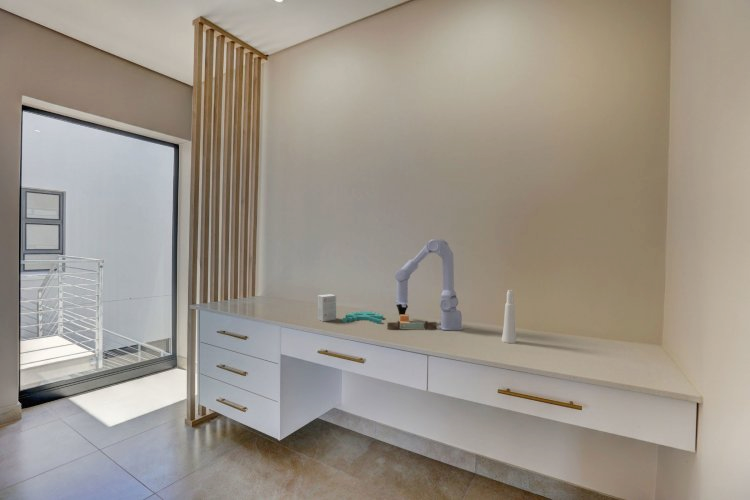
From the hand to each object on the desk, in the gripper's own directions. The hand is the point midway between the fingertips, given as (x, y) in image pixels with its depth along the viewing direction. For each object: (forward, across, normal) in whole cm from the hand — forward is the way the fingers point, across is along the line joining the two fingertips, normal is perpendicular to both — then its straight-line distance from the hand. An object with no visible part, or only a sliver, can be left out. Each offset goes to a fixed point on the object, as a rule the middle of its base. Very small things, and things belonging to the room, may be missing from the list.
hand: (401, 318), depth 185 cm
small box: (+2, -4, -40) cm, 40 cm away
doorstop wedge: (+2, +8, 0) cm, 8 cm away
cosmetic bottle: (+2, +38, +40) cm, 55 cm away
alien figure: (+2, -6, -20) cm, 21 cm away
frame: (+1, +16, +3) cm, 16 cm away
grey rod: (+1, +16, +3) cm, 16 cm away
